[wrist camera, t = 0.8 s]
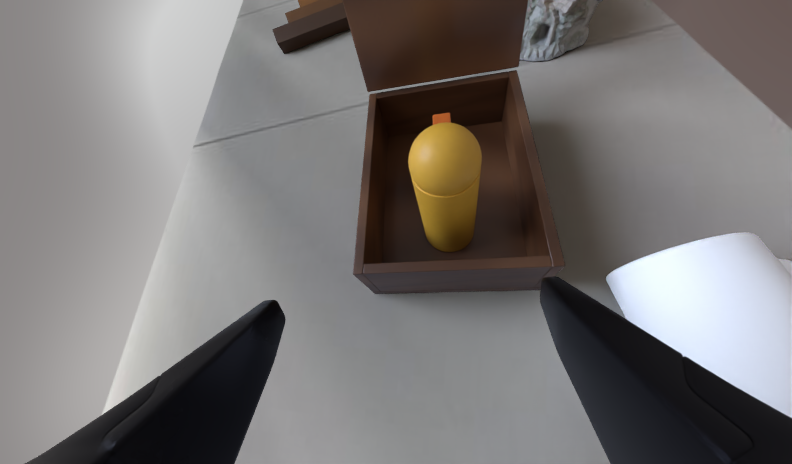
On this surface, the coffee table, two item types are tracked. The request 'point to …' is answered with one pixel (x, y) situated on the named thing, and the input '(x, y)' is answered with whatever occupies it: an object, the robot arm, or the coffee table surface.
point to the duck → (446, 182)
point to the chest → (496, 206)
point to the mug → (718, 309)
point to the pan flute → (311, 23)
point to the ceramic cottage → (555, 27)
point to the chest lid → (434, 38)
